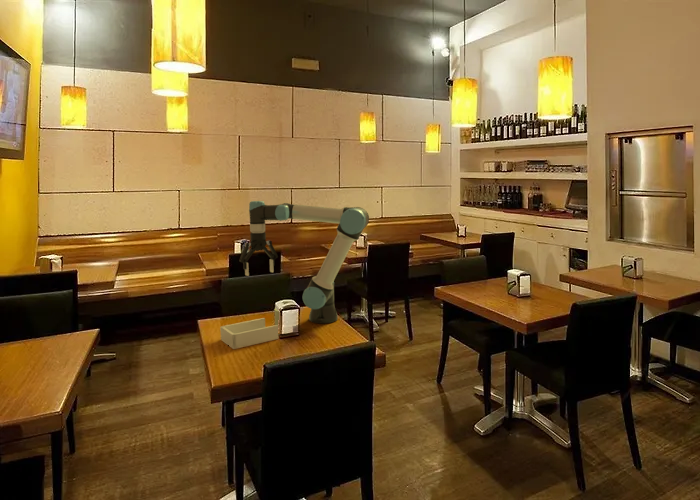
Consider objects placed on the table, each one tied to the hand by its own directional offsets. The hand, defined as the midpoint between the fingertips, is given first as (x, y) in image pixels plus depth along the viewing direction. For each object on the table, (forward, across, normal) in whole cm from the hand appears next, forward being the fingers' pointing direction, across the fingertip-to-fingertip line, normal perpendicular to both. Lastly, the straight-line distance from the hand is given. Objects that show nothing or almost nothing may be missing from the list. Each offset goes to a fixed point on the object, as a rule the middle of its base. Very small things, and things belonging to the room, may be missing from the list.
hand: (259, 273), depth 235 cm
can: (+27, -4, +17) cm, 32 cm away
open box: (+27, +14, +17) cm, 34 cm away
